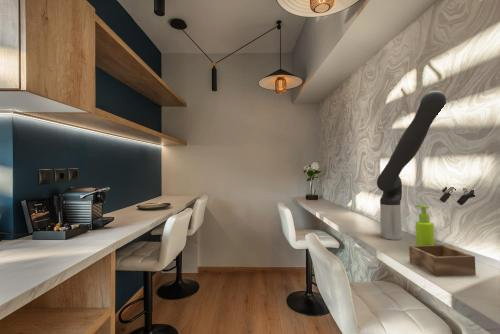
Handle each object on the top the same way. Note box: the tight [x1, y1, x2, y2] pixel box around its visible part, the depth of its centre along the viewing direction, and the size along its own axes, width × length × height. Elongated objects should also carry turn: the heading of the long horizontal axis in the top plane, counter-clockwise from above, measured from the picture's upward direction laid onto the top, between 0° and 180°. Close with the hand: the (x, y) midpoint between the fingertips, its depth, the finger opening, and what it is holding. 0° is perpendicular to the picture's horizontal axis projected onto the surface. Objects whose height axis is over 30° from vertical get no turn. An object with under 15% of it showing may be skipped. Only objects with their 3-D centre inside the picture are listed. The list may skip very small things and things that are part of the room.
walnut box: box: [408, 244, 477, 277], centre depth 86 cm, size 13×13×6 cm
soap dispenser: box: [414, 204, 435, 246], centre depth 100 cm, size 6×7×20 cm
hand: (450, 202), depth 100 cm, fingers open, 8 cm apart
